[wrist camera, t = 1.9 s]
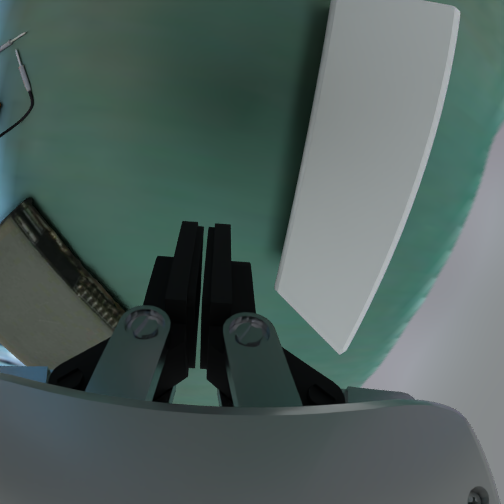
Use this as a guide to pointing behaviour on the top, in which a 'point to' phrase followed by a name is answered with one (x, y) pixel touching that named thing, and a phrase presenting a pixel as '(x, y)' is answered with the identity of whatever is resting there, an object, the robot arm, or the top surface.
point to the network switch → (47, 294)
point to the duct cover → (363, 155)
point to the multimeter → (23, 81)
